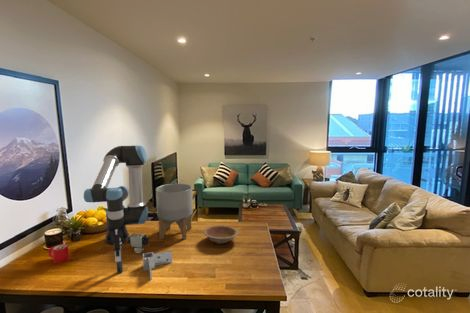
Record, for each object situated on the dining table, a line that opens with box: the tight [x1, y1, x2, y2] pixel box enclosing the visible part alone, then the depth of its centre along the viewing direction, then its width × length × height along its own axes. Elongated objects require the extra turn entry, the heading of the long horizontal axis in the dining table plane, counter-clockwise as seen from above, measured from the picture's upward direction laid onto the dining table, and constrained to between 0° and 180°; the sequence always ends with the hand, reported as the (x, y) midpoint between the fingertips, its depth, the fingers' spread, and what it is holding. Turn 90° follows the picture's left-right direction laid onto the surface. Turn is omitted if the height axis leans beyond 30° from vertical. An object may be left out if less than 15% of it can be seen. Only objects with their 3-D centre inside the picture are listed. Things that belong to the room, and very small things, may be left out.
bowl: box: [202, 224, 239, 245], centre depth 177 cm, size 24×24×8 cm
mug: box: [47, 243, 70, 264], centre depth 155 cm, size 8×12×8 cm, turn 86°
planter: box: [155, 182, 194, 241], centre depth 187 cm, size 25×25×34 cm
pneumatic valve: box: [127, 233, 150, 254], centre depth 163 cm, size 6×12×12 cm, turn 78°
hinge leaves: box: [142, 249, 173, 281], centre depth 144 cm, size 16×16×7 cm
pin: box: [115, 241, 124, 275], centre depth 141 cm, size 4×4×17 cm
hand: (118, 255), depth 140 cm, fingers open, 13 cm apart
